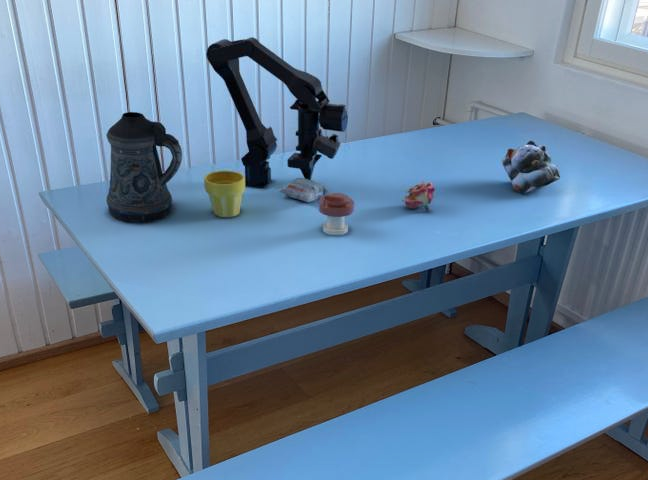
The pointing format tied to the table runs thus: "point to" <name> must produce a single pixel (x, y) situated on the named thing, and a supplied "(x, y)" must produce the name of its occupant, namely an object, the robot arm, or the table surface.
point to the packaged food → (304, 190)
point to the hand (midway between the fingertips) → (308, 181)
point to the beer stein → (140, 169)
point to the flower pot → (225, 191)
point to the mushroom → (335, 212)
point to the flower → (419, 196)
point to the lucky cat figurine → (530, 167)
